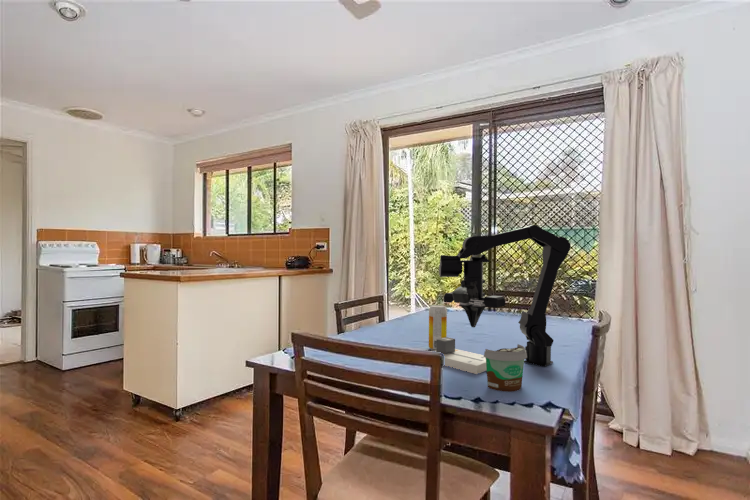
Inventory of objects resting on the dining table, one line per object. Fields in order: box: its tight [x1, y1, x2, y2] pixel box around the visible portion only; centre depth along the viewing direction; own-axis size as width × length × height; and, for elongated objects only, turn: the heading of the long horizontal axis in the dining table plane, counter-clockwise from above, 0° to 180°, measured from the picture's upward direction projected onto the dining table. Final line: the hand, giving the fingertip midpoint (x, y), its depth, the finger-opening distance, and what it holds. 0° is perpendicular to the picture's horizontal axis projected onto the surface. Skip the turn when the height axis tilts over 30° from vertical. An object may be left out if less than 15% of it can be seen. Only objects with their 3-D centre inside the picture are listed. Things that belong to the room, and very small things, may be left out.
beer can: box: [428, 304, 448, 352], centre depth 140 cm, size 6×6×15 cm
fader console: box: [435, 348, 487, 375], centre depth 123 cm, size 18×11×2 cm, turn 44°
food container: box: [483, 343, 527, 393], centre depth 102 cm, size 12×6×10 cm, turn 117°
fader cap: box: [436, 336, 456, 354], centre depth 127 cm, size 4×5×4 cm
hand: (473, 327), depth 125 cm, fingers closed
